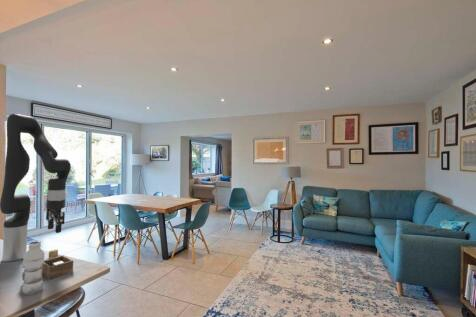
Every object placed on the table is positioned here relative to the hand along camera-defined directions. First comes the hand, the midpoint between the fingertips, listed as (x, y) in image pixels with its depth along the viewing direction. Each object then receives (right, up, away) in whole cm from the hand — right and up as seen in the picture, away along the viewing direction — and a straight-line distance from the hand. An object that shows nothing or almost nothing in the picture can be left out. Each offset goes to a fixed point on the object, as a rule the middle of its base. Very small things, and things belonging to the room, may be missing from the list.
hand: (54, 230), depth 119 cm
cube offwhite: (+7, -17, -7) cm, 19 cm away
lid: (-1, -17, 0) cm, 17 cm away
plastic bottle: (+10, -18, -24) cm, 32 cm away
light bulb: (+4, -17, -18) cm, 25 cm away
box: (+8, -17, -9) cm, 21 cm away
